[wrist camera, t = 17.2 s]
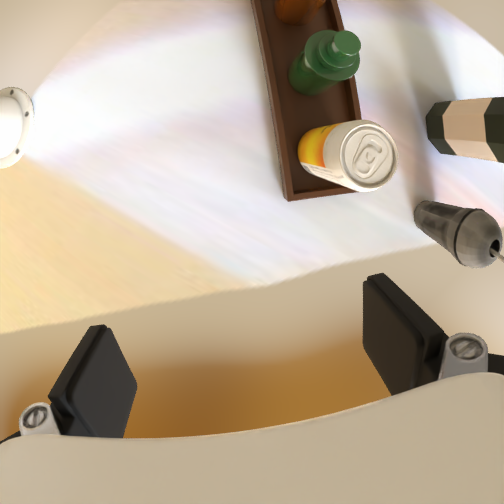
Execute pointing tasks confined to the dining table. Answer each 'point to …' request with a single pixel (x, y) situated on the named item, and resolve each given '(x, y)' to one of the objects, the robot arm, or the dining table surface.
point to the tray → (301, 96)
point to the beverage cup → (461, 232)
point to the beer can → (350, 154)
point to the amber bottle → (297, 11)
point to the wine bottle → (468, 128)
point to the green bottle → (324, 62)
